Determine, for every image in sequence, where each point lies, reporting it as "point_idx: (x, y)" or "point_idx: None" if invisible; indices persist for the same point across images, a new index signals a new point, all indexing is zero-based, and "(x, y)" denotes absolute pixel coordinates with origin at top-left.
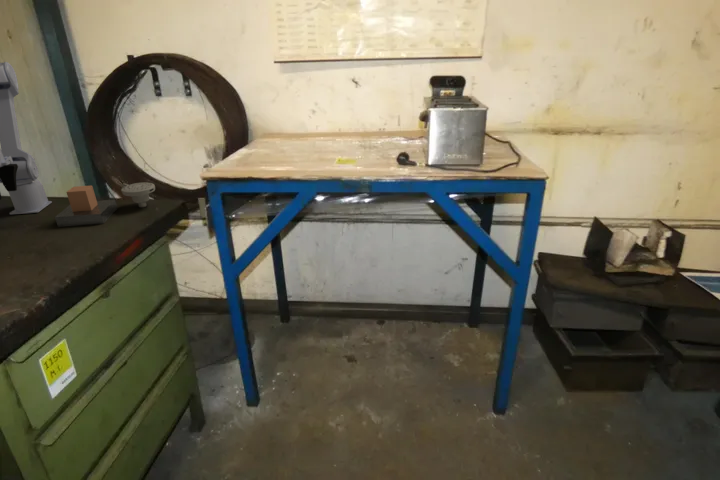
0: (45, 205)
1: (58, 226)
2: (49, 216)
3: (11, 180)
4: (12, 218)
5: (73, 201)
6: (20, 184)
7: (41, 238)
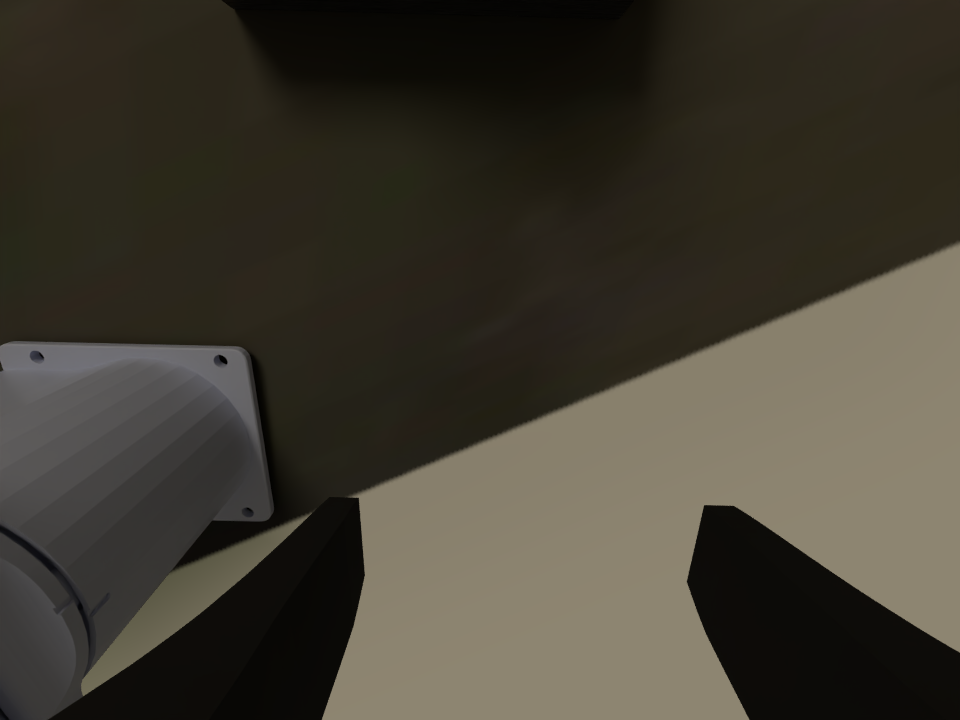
0: (107, 348)
1: (621, 12)
2: (333, 222)
3: (297, 636)
4: (339, 469)
5: None
6: (43, 570)
7: (850, 61)
